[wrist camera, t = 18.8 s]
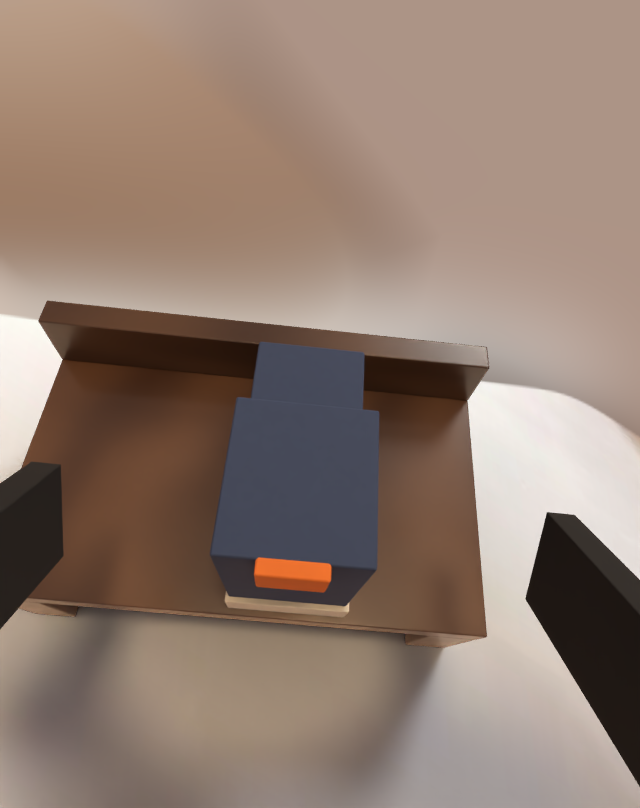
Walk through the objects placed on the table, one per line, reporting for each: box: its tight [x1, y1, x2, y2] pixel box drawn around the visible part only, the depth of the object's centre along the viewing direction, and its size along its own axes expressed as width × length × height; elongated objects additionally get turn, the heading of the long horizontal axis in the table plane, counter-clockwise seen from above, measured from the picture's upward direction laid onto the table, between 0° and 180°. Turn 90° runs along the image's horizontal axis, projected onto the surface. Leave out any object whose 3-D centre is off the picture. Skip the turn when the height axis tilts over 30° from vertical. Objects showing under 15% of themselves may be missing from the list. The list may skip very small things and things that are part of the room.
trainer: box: [210, 342, 379, 617], centre depth 19 cm, size 10×5×8 cm, turn 176°
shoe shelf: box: [19, 301, 489, 648], centre depth 24 cm, size 20×12×9 cm, turn 86°
